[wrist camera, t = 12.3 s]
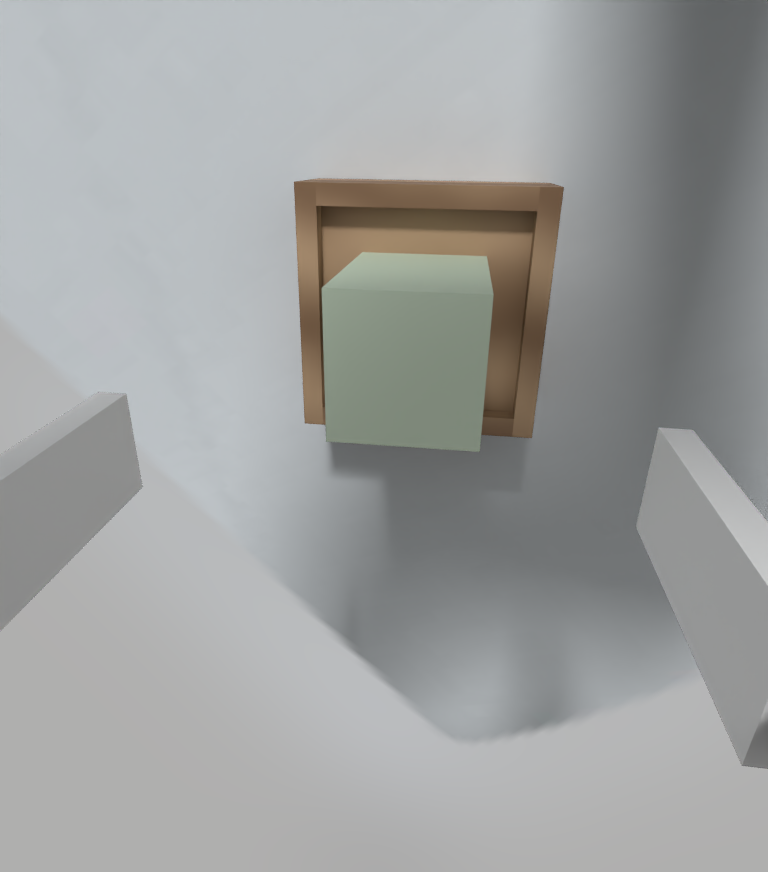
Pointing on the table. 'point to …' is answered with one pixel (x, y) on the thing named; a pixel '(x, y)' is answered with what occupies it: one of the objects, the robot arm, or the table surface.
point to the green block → (407, 350)
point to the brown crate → (442, 235)
